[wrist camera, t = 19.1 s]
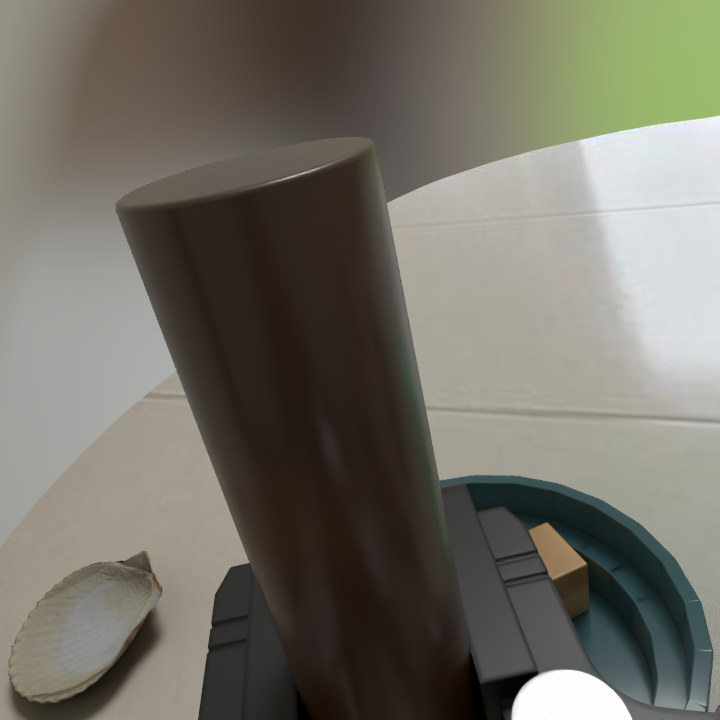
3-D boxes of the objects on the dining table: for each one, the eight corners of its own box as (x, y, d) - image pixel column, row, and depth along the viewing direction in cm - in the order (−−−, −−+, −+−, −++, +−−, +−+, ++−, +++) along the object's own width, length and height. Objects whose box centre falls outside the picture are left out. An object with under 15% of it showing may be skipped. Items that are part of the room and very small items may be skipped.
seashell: (43, 649, 36) (19, 751, 28) (10, 611, 35) (-23, 705, 28) (171, 565, 38) (181, 641, 30) (143, 527, 37) (146, 595, 29)
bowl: (364, 1006, 19) (331, 944, 17) (283, 603, 33) (259, 541, 31) (816, 795, 21) (836, 717, 19) (559, 502, 35) (554, 438, 33)
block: (533, 638, 28) (528, 591, 26) (497, 590, 30) (491, 546, 29) (590, 610, 28) (588, 563, 27) (551, 565, 31) (547, 520, 29)
